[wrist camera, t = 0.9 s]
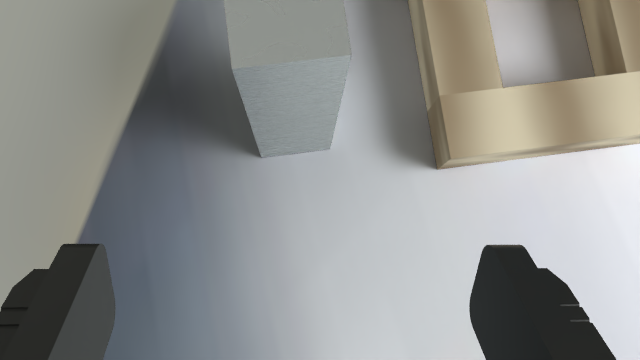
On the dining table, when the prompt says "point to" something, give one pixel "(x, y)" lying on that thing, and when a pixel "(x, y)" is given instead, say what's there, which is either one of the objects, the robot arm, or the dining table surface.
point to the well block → (524, 87)
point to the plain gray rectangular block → (289, 70)
